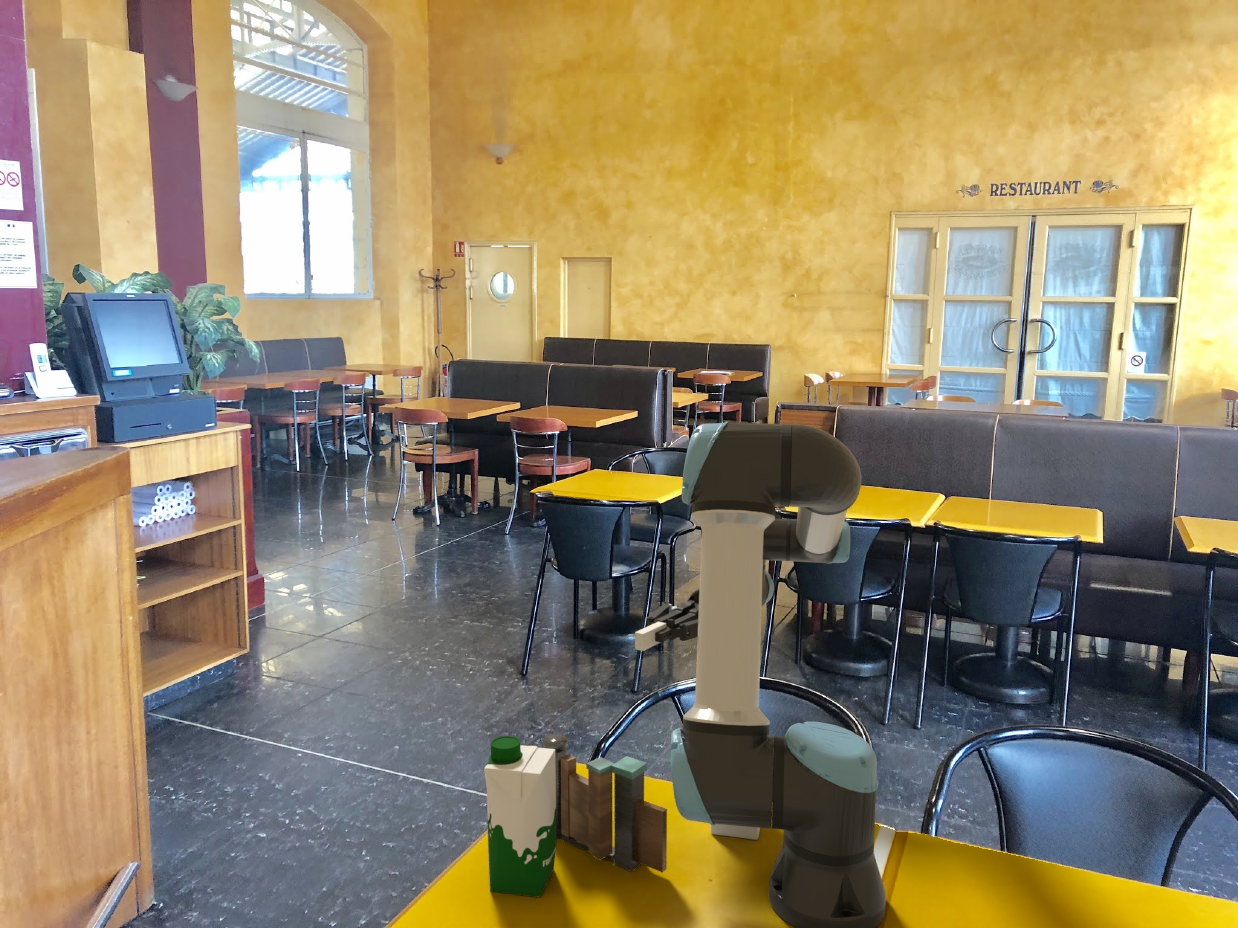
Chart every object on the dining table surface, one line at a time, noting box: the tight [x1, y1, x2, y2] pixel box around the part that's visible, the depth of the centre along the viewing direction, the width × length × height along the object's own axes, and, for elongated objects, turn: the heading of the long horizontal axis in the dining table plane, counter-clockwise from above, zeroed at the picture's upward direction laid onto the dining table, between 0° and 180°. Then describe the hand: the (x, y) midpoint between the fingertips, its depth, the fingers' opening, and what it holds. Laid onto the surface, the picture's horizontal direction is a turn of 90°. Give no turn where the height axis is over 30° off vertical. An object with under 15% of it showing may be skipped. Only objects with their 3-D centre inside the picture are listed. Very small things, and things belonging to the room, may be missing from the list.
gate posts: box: [542, 733, 668, 873], centre depth 136 cm, size 21×4×15 cm, turn 54°
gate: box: [561, 753, 615, 860], centre depth 136 cm, size 9×3×14 cm, turn 43°
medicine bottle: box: [710, 824, 761, 841], centre depth 143 cm, size 7×7×12 cm
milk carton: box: [483, 735, 557, 898], centre depth 129 cm, size 9×9×20 cm
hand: (639, 641), depth 144 cm, fingers closed
